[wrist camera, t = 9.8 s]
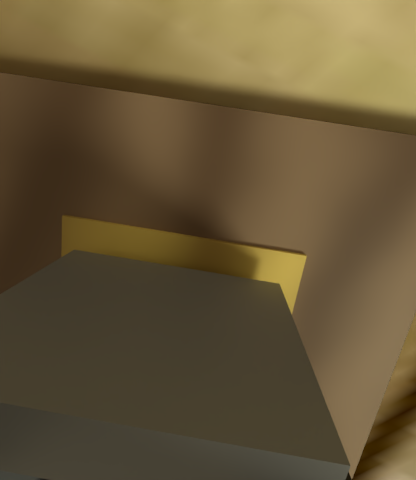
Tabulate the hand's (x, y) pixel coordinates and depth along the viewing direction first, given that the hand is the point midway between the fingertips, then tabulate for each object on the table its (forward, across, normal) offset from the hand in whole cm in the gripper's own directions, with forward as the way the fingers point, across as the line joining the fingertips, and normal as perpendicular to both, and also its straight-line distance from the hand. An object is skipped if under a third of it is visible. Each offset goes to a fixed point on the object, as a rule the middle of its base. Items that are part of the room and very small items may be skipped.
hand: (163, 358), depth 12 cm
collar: (0, 0, 0) cm, 0 cm away
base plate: (+3, 0, 0) cm, 3 cm away
